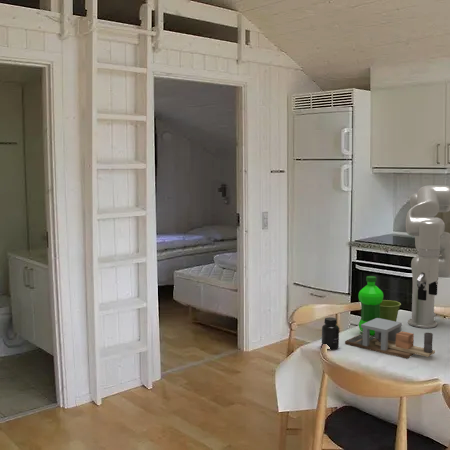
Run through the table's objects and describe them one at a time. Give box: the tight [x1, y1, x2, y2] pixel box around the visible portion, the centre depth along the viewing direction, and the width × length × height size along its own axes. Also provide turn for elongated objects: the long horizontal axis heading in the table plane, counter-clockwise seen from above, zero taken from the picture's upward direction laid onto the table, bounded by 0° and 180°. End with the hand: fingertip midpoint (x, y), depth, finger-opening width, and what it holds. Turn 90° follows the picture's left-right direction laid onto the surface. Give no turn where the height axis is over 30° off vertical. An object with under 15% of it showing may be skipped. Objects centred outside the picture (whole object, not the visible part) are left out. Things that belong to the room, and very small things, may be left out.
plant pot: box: [380, 299, 402, 322], centre depth 266 cm, size 12×12×11 cm
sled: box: [375, 330, 436, 358], centre depth 233 cm, size 6×22×8 cm, turn 47°
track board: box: [344, 334, 415, 360], centre depth 240 cm, size 12×27×1 cm, turn 48°
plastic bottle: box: [358, 275, 385, 337], centre depth 256 cm, size 10×10×25 cm
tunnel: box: [361, 318, 403, 351], centre depth 239 cm, size 13×11×8 cm
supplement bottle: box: [321, 316, 340, 351], centre depth 239 cm, size 7×7×12 cm
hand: (427, 297), depth 227 cm, fingers open, 9 cm apart
